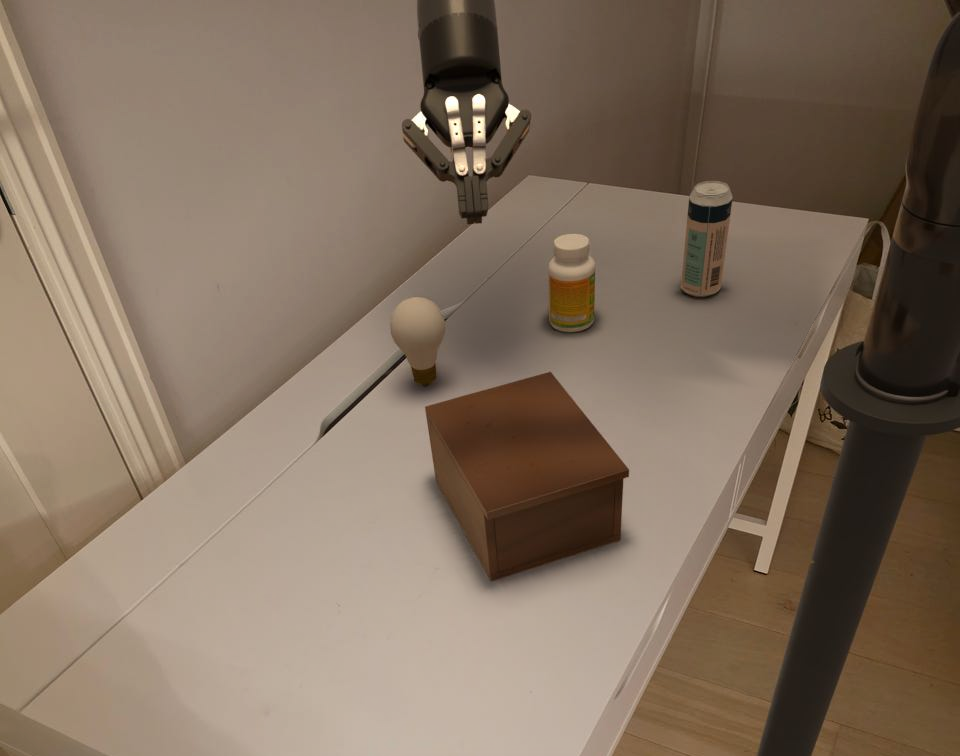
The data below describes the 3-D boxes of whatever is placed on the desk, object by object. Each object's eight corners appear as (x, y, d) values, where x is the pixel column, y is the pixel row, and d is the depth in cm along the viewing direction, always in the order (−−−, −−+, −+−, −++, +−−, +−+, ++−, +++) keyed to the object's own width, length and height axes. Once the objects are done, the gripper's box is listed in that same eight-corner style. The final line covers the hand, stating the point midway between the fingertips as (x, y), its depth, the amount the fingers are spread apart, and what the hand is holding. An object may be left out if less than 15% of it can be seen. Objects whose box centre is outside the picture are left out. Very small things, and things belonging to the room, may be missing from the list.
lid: (629, 477, 73) (629, 469, 72) (487, 520, 71) (487, 512, 70) (550, 378, 83) (550, 371, 83) (425, 413, 81) (424, 406, 81)
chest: (620, 540, 79) (624, 471, 73) (490, 581, 77) (483, 513, 71) (552, 446, 89) (550, 379, 83) (435, 480, 87) (425, 414, 81)
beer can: (721, 281, 109) (734, 179, 100) (719, 300, 106) (732, 197, 97) (682, 279, 110) (691, 179, 101) (678, 298, 107) (688, 196, 98)
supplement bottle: (597, 331, 103) (599, 249, 96) (552, 336, 103) (550, 254, 96) (590, 308, 107) (592, 228, 100) (546, 313, 107) (544, 233, 100)
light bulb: (404, 370, 101) (391, 287, 94) (455, 369, 100) (445, 285, 93) (396, 399, 97) (381, 315, 90) (448, 399, 96) (438, 313, 89)
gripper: (385, 15, 80) (404, 210, 81) (530, 3, 80) (546, 197, 81) (392, 64, 87) (409, 241, 88) (524, 53, 87) (539, 230, 89)
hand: (474, 220), depth 85 cm, fingers closed
